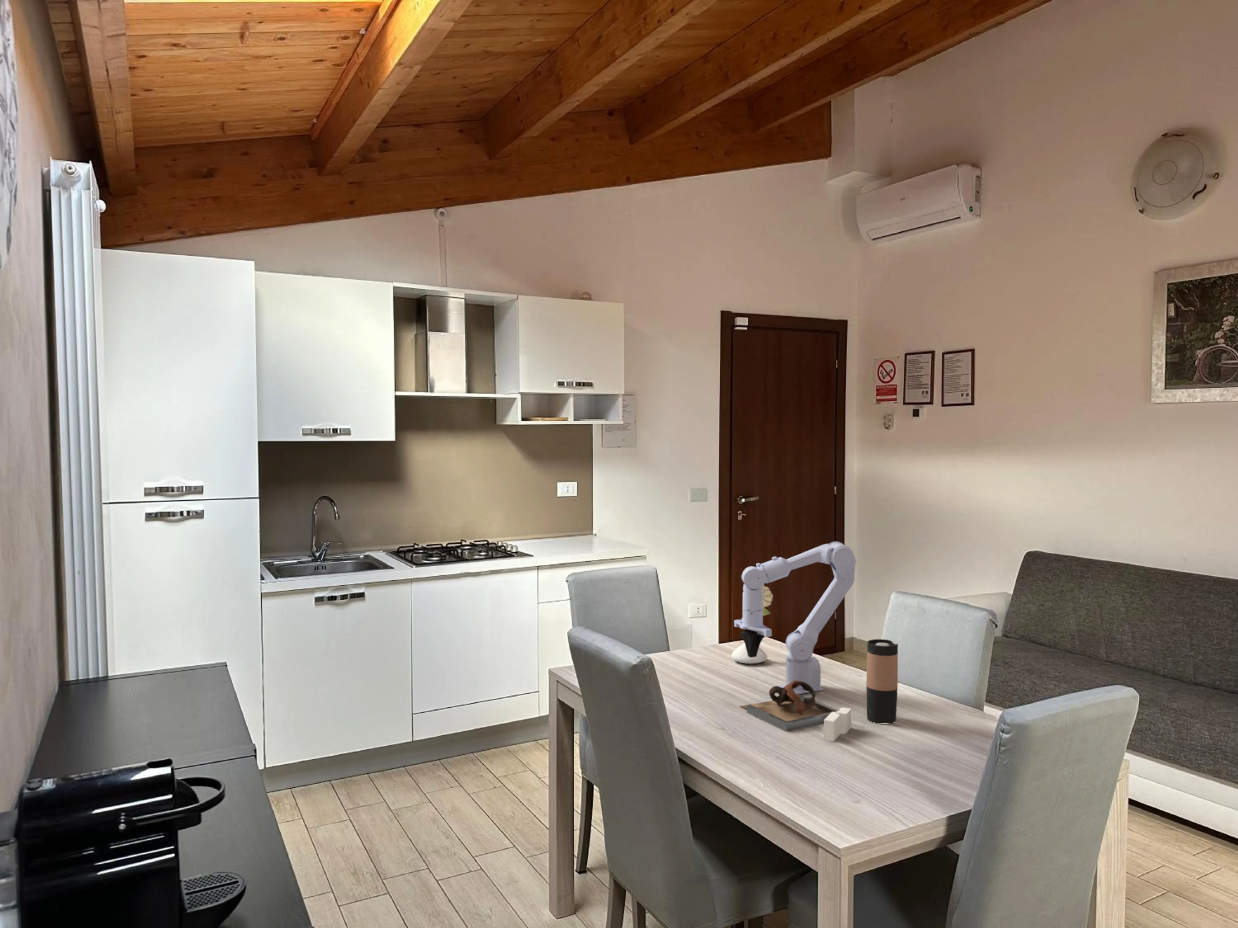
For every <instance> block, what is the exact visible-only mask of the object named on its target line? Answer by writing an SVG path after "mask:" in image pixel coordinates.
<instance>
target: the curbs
mask: <svg viewBox="0 0 1238 928" xmlns="http://www.w3.org/2000/svg"><path fill="white" fill-rule="evenodd" d="M798 695H799V696H800V701H803V702H804V698H808V697H807V696H804V695H803V694H798ZM750 704H751V703H749V704H746V705H747V710H746V713H747V714H749V715H751V716H753V717H756V718H758V719H760V720H762V721H764V722H766V723H768V724H770V725H773V726H774V727H776V728H778V729H781V730H783V731H785V732H791V731H795V730H799V729H805V728H809V727H814V726H819V725H824V719H825V718H826V717H827V716H828V715H829V714H830V713H831V712H837V711H839V709H835V708H833V707H831V706H829V705H825V704H823V703H821V702H819V701H816V700H815V703H814V706H813V707H816V708H818V709H820V710H823V711H825V712H827V713H825V714H820V715H815V716H810V717H805V718H800V719H795V720H790V721H785V720H783V719H780V718H778V717H776V716H774V715H772V714H770V713H768V712H765V711H763V710H761V709H759V708H757V707H755V706H752V705H750Z"/></svg>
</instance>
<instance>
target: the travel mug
mask: <svg viewBox="0 0 1238 928" xmlns="http://www.w3.org/2000/svg"><path fill="white" fill-rule="evenodd" d="M866 644H867V648H866V649H867V651H866V653H867V654H866V682H865V684H866V686H865V688H866V718H867V720H868V721H869V722H871V721H872V722H871V723H873V722H875V723H874V724H877V723H893V722H895V721H896V720H897V707H898V706H897V705H898V689H899V687H898V683H899V682H898V681H899V680H898V678H899V677H898V676H899V675H898V674H899V673H898V672H899V671H898V670H899V668H898V661H899V660H898V658H899V656H898V653H899V644H898V642H897V643H895V642H893V641H892V640H890V639H884V638H883V639H880V638H879V639H878V638H876V639H870V640H867V643H866ZM895 723H896V722H895ZM893 724H894V723H893Z"/></svg>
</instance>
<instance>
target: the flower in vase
mask: <svg viewBox="0 0 1238 928" xmlns="http://www.w3.org/2000/svg"><path fill="white" fill-rule="evenodd" d="M770 590H771V589H770V588H769V587H768V586H765V584H764V585H763V586H762V593H763V617H765V616H767V615H770V614H771V612H770V611H769V610H768V609H766V608H767V607H769V606H771V604H772V602H773V598H774V595H773V593H772V591H770ZM741 609H742V610H743V607H741ZM741 620H743V617H741ZM730 656H731V658H732V659H733V661H736V662H738V663H741V664H742V663H743V664H760V663H763V662H765V661H766V660H767V659H768V655H767V653H766V652H765V651H764V650H763V649H762V648H761V647H759V649H758V652H757V656H756V657H748V654H747V650H746V646H745V643H744V642H743V643H742V644H741V645H739V646H738V647H737V648H735V650H733V651H732V653H731V655H730Z"/></svg>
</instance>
